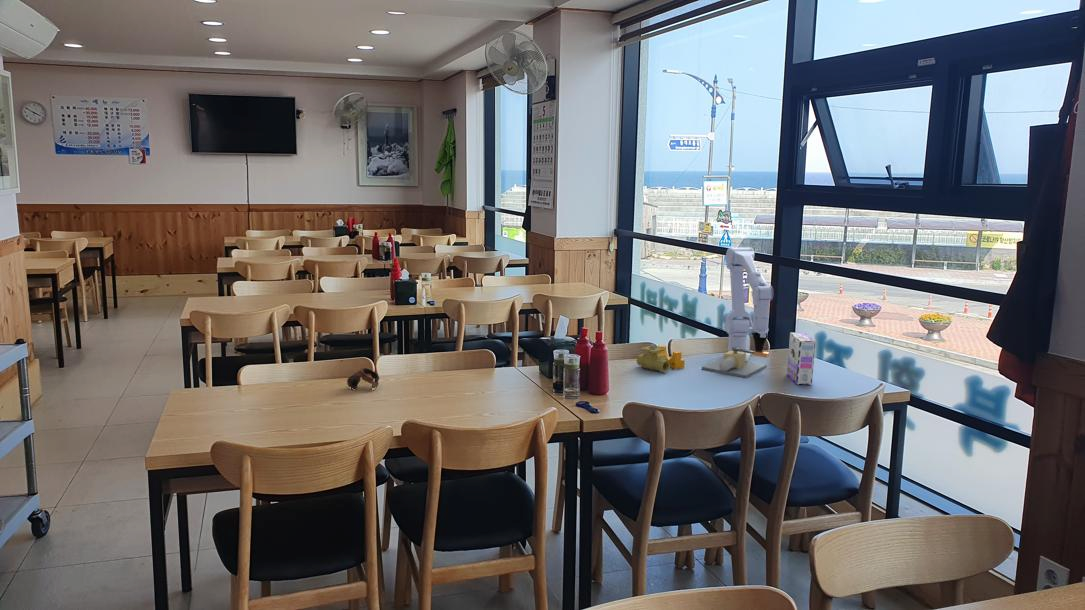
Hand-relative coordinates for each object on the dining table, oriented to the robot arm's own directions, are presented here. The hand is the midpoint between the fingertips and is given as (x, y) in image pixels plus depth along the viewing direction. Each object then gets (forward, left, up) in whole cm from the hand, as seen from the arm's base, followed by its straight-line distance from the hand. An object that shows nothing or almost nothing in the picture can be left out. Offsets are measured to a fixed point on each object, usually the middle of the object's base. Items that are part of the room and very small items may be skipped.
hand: (758, 351), depth 313 cm
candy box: (+4, +18, -7) cm, 19 cm away
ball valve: (+25, -30, -7) cm, 40 cm away
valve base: (+5, -7, -7) cm, 11 cm away
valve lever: (+5, -2, 0) cm, 5 cm away
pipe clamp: (+16, -29, -7) cm, 34 cm away
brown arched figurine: (+113, -96, -7) cm, 148 cm away
